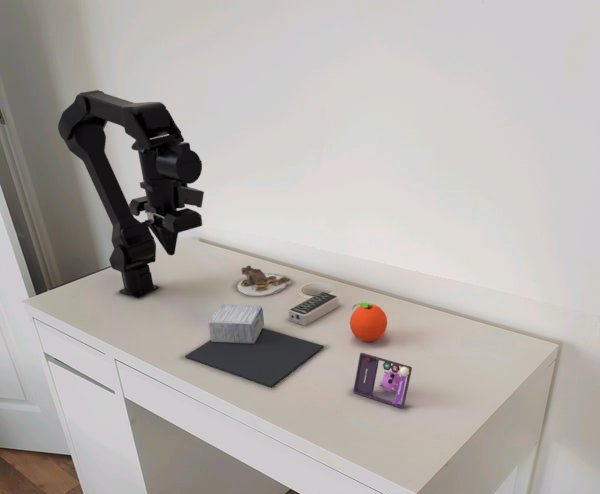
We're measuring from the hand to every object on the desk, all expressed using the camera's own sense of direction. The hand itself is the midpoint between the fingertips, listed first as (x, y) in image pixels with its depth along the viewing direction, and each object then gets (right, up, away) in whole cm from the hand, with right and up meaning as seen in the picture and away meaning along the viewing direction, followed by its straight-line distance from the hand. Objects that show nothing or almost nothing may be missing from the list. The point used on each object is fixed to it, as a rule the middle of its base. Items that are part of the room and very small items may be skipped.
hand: (171, 254), depth 125 cm
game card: (+40, -28, -25) cm, 55 cm away
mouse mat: (+18, -21, -11) cm, 29 cm away
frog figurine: (+18, -4, +15) cm, 23 cm away
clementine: (+39, -18, -9) cm, 43 cm away
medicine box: (+10, -14, -6) cm, 18 cm away
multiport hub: (+29, -12, +1) cm, 31 cm away
